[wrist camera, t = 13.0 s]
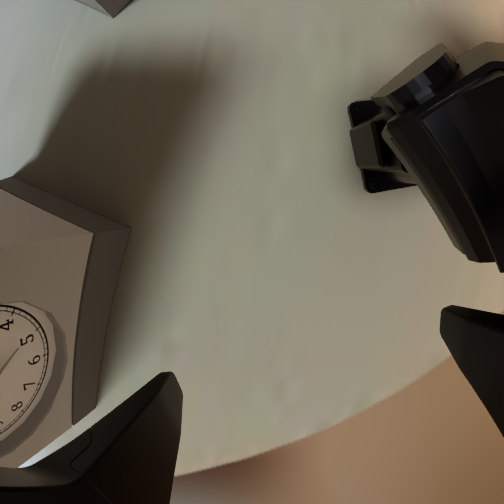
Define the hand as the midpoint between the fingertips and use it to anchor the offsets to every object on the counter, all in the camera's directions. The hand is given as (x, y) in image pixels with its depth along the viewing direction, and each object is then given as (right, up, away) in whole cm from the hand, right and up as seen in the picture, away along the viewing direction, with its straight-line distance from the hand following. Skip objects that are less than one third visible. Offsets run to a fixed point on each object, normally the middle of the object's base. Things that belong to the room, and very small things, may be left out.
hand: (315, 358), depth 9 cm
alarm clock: (-22, -1, +14) cm, 26 cm away
